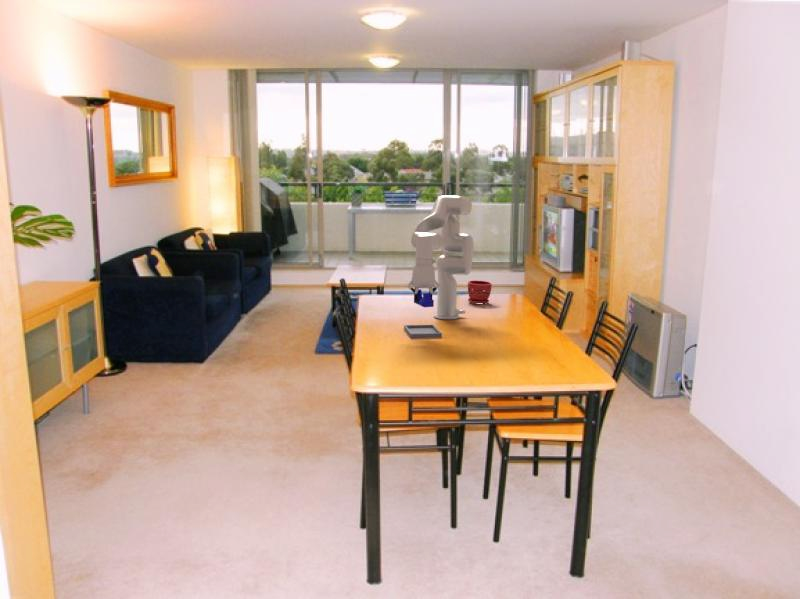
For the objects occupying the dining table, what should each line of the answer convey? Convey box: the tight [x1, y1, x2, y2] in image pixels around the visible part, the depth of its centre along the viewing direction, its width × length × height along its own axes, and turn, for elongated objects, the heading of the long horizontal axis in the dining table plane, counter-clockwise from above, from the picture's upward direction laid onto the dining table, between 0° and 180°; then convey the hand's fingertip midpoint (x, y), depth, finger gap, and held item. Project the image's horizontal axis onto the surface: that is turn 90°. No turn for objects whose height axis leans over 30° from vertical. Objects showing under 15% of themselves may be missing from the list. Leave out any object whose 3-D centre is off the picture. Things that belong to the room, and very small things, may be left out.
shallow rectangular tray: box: [403, 324, 443, 339], centre depth 327 cm, size 14×18×2 cm
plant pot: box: [467, 280, 493, 304], centre depth 402 cm, size 13×13×12 cm
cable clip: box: [413, 288, 435, 308], centre depth 324 cm, size 12×4×6 cm, turn 21°
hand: (423, 301), depth 325 cm, fingers closed on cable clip, 5 cm apart
